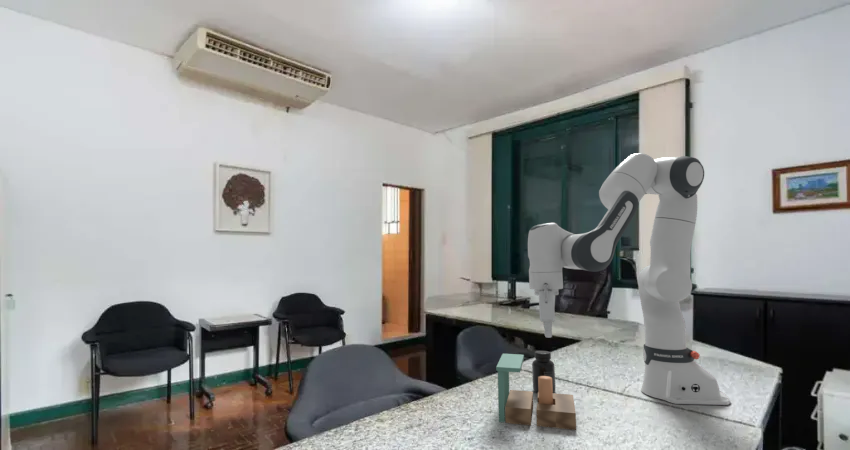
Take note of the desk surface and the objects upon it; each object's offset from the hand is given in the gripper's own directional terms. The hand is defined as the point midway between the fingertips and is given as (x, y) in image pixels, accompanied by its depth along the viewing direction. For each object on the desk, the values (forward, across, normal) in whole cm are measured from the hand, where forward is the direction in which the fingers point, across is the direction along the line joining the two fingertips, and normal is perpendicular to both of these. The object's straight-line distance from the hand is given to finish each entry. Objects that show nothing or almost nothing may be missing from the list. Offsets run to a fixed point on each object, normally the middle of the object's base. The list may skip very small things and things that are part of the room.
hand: (548, 333), depth 115 cm
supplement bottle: (+22, +19, +2) cm, 29 cm away
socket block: (+21, -2, +3) cm, 22 cm away
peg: (+21, -2, +2) cm, 21 cm away
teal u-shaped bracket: (+21, -2, +10) cm, 24 cm away
